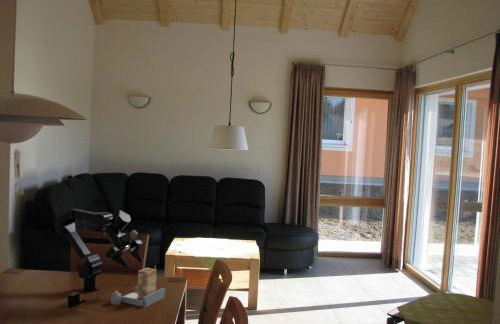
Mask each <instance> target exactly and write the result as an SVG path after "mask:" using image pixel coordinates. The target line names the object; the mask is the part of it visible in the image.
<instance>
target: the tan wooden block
mask: <svg viewBox="0 0 500 324" xmlns="http://www.w3.org/2000/svg"><path fill="white" fill-rule="evenodd" d="M157 271H158V270H157V269H156V268H151V267H145V268H143V269H139V270H138V272H137V274H138V275H137V276H138V277H137V287H138V299H137V300H142V301H143V297H144V296H146V295H149V294H151V293H153V292H155V291H157V273H158V272H157Z"/></svg>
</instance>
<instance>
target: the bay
mask: <svg viewBox="0 0 500 324" xmlns="http://www.w3.org/2000/svg"><path fill="white" fill-rule="evenodd" d="M164 298H166V287H162V288H160V289H158V290H157V289H156V291H155V292H153V293H151V294H149V295H146V296H144V297H143V301H142V300H137V299H138V285H137V286H134V291H132V292H129V293H126V294H125V295H122V293H121V292H118V290H115V291H114V292H112V293H111V294H110V304H111V305H112V306H113V305H114V306H117V305H121V304H122V303H124V304H125V303H126V304H129V305H134V306H137V307H143V308H146V307H148V306H150V305H152V304H154V303H156V302H158V301H160V300H163V299H164Z"/></svg>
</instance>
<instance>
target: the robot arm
mask: <svg viewBox="0 0 500 324" xmlns="http://www.w3.org/2000/svg"><path fill="white" fill-rule="evenodd" d="M131 218H132V217H131V216H130V214H128V213H126V212H125V211H123V210H118V211H117V212H116V213H115V215H114V214H112V212H107V211H106V212H105V211H104V212H95V211H90V210H89V211H88V210H85V209H80V208H70V209H68V210H67V211H66V212H64V213H63V214H61V215H60V216H59V217H57V218H55V219H54V222H53V228H54V229H55V230H56V232H58V233H59V234H61V235H62V236H64V237H65V238H66V239H67V240H68V242H69V243H70V245H71V247H72V248H73V250H74V252H75V253H76V255H77V256H78V258H79V259H80V261H81V262H80V263H81V264H80V265H81V270H80V271H79V272H78V274H77V275H78V277H79V279H82V286H81V287H79V289H80V290H81V291H82V292H84V293H87V292H88V293H89V292H94V291H99V287H97V276H100V275H101V273H102V271H103V267H104V263H103V260H102V259H101V258H100V256H99V254H97V253H96V254H92V253H91V251H90V250H89V249H88V246H86V244H85V243H84V241H83V239H82V238H81V237H80V235H79V234H78V232H77V230H76V222H77V220H83V221H87V222H91V223H92V224H93V225H95V226H97V227H103V228H101V232H100V233H101V234H100V235H101V236H103V235H106V236H107V238H108V239H109V245H113V246H111V247H109V249H108V250H107V251H106V252H105V254H104V256H105V258H106V259H107V260H110V261H113V262H115V263H117V264H119V265H121V266H123V267H124V268H129V263H128V262H127V261H126V259H125V257H124V255H123V252H124V251H125V252H126V251H128V252H129V254H130V255H131V256H132V257H133V258H134V259H135V260H136V261H138V262H139V263H140V264H141V263H142V262H143V258H142V254H141V248H142V245H143V242H142V240H141V239H138V236H139V233H138V232H137V230H136V229H133V230H130V231H129V232H128V233H124V232H123V233H122V230H124V228H125V227H126V226H127V225H128V224H129V223H130V222H131V220H132V219H131Z"/></svg>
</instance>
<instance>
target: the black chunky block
mask: <svg viewBox="0 0 500 324" xmlns="http://www.w3.org/2000/svg"><path fill="white" fill-rule="evenodd" d="M86 301H87V300H86V299H85V300H84V299H81V295H80V292H75V291H74V292H71V293H70V294H68V296H67V302H66V303H65V304H63V305H61V307H63V308H69V309H74V308H75V307H77V306H79V305H80V304H83V303H85V302H86Z"/></svg>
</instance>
